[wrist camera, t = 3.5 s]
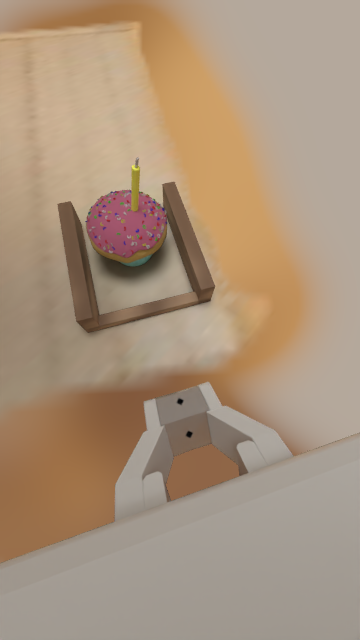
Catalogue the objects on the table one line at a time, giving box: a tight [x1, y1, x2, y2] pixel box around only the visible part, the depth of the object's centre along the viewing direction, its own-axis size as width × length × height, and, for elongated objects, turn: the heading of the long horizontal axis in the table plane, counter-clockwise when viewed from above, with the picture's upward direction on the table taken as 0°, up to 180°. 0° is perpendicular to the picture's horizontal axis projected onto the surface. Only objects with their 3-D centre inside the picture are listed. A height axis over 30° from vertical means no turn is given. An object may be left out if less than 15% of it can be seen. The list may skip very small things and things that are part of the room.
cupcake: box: [86, 157, 167, 266], centre depth 25 cm, size 9×8×12 cm
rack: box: [58, 182, 215, 333], centre depth 28 cm, size 14×15×4 cm
